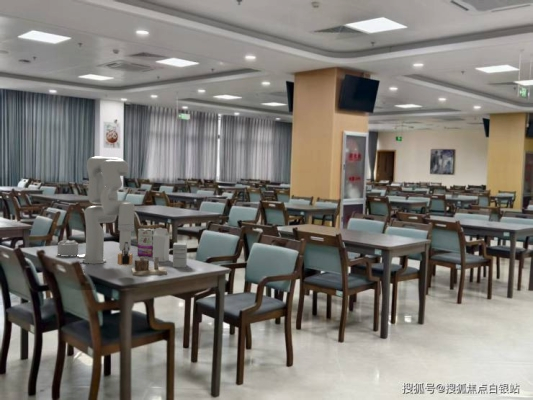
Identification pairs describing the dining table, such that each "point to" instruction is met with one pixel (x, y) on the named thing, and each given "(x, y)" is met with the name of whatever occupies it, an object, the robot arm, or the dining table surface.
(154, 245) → the milk carton
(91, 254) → the robot arm
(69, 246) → the lumpy-topped squat cylinder
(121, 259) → the orange gear
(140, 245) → the candy bar box
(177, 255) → the supplement box
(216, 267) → the dining table surface
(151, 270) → the gear board
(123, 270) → the dining table surface
